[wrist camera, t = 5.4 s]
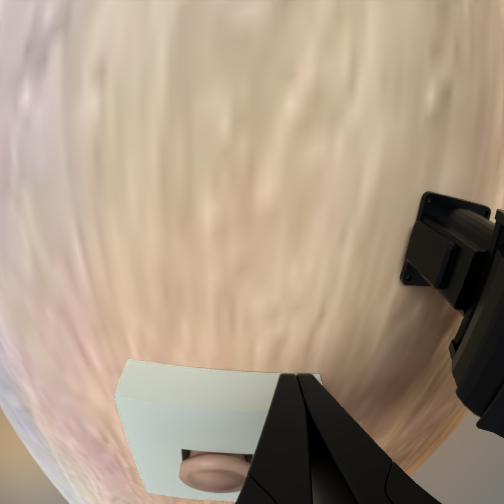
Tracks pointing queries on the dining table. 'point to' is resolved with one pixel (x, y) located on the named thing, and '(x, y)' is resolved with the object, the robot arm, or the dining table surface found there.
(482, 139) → the dining table surface
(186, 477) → the button
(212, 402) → the button box
